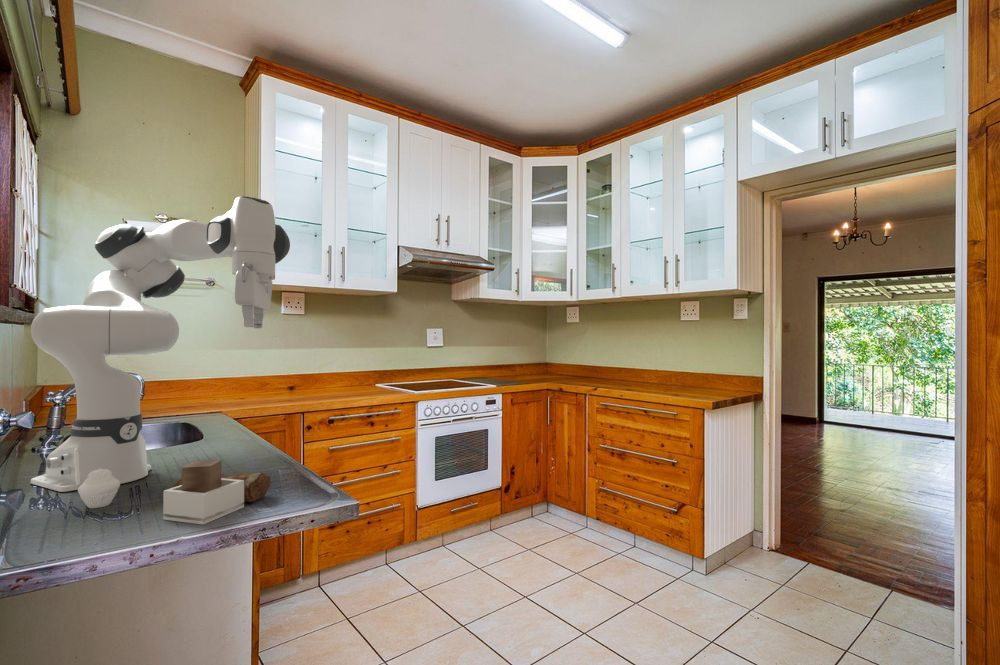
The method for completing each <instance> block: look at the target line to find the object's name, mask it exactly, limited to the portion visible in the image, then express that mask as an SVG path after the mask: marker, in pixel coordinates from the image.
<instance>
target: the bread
mask: <svg viewBox="0 0 1000 665" xmlns="http://www.w3.org/2000/svg"><path fill="white" fill-rule="evenodd" d="M270 477H271V476H269V475H266V474H264V473H263V472H252V473H235V474H221V478H225V479H236V480H244V503H254V502H255V501H257V500H259V499H261V498H262V497H264V496H265V494H266V493H267V492H268V490H269V489H270V486H271V482H272V481H271V478H270ZM180 485H182V478H181V479H179V480H177V481H176V482H175V483H174V484H173V487H176V486H180Z"/></svg>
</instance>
